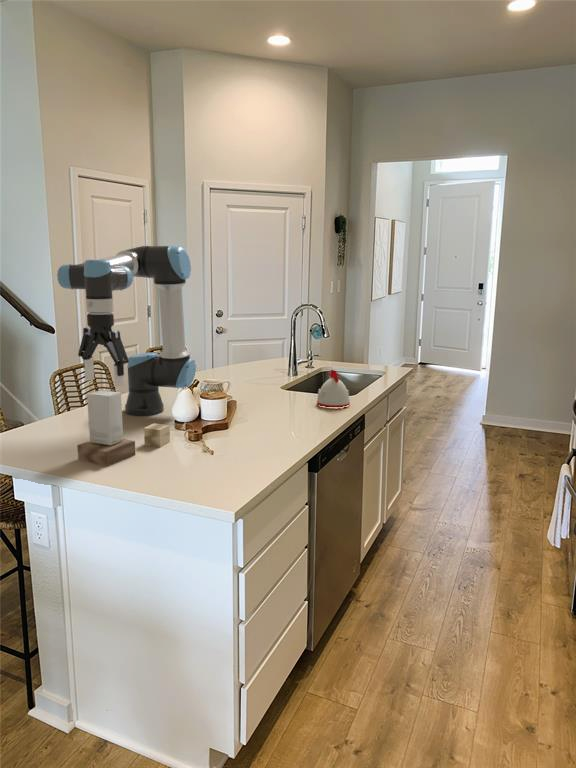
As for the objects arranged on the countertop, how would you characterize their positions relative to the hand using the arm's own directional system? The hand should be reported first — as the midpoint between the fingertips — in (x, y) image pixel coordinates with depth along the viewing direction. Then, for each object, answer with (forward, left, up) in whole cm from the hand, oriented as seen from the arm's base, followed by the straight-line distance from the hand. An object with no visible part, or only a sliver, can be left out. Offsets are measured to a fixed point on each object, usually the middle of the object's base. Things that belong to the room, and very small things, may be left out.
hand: (104, 383), depth 178 cm
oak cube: (+3, +18, -23) cm, 29 cm away
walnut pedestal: (+1, -1, -24) cm, 24 cm away
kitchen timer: (+23, +100, -24) cm, 105 cm away
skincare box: (0, -1, -19) cm, 19 cm away
